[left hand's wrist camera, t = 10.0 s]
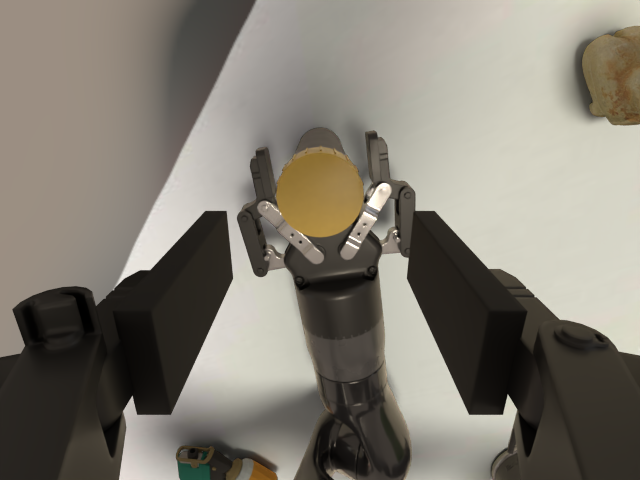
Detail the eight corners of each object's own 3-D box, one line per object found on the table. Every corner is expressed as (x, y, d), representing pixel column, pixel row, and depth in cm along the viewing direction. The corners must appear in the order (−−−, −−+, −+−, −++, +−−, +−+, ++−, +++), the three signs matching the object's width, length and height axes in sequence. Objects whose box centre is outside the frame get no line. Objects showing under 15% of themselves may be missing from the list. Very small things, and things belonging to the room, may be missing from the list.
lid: (378, 186, 22) (383, 195, 20) (321, 241, 23) (321, 255, 22) (318, 127, 21) (318, 131, 19) (262, 189, 22) (256, 198, 20)
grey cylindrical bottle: (350, 149, 35) (373, 193, 21) (320, 180, 36) (321, 243, 22) (319, 117, 34) (318, 140, 20) (289, 151, 35) (267, 195, 21)
